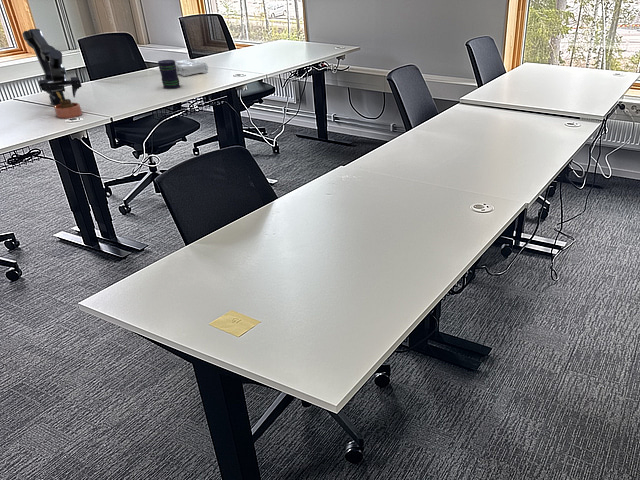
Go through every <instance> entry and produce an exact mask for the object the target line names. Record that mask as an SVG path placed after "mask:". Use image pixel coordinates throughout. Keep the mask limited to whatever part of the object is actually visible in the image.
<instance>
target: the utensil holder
mask: <svg viewBox="0 0 640 480" xmlns="http://www.w3.org/2000/svg"><path fill="white" fill-rule="evenodd" d="M56 93H57V95H58V97H59V98H60V99H61V95H60V94H59V92H56ZM66 93H67V94H66ZM63 94H64V97H65V99H63V100H62V99H61V100H60V103H61V104H60V107H61V108H70V107H73V104H72V103H73V102H72V100H71V99H70V98H67V97H68V96H67V95H70V94H69V92H68V91H66V90H65V93H63Z"/></svg>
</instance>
